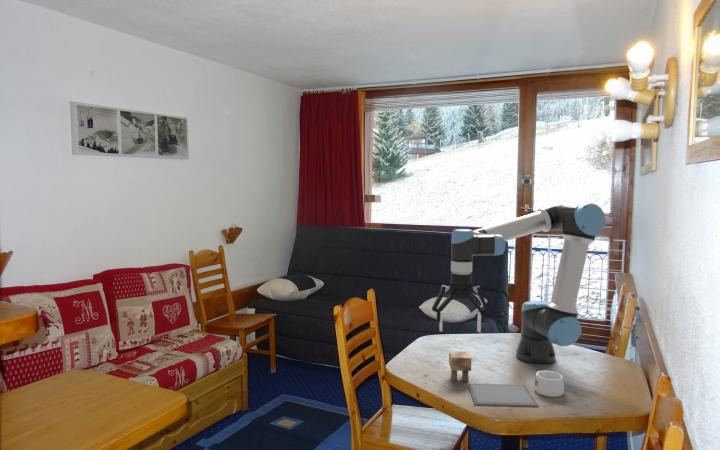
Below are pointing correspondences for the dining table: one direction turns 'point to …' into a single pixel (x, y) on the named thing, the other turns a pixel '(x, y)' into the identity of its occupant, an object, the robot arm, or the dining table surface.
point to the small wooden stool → (459, 364)
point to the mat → (501, 395)
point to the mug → (549, 383)
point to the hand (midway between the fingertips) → (459, 330)
